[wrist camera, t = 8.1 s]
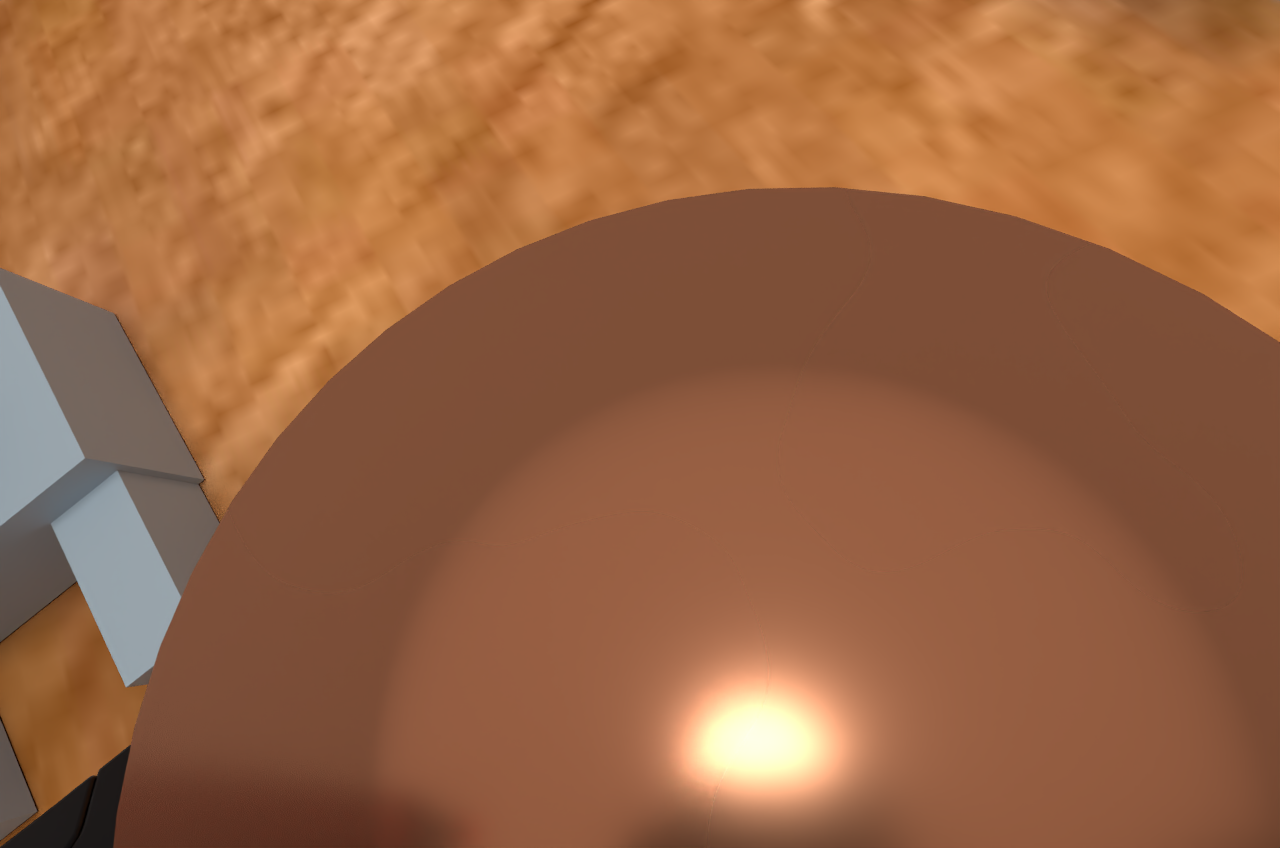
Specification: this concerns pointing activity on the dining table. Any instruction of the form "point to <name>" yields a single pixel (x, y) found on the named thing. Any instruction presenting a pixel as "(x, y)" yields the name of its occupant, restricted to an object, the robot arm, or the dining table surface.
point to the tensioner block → (88, 488)
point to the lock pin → (749, 556)
